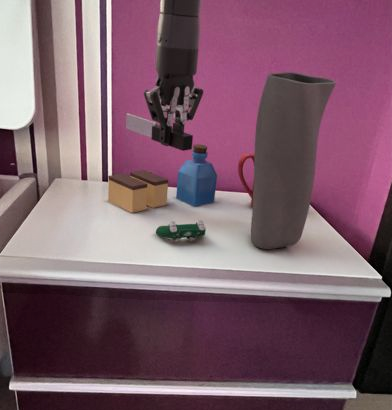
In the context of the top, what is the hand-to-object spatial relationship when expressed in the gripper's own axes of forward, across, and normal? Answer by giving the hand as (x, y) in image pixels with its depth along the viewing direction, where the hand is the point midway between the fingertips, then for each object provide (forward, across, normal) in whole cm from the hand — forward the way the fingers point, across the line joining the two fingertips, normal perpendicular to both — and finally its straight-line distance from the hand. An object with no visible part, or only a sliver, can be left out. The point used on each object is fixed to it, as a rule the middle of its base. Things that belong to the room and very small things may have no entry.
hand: (171, 143), depth 109 cm
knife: (0, 0, +5) cm, 5 cm away
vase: (+15, +9, -21) cm, 27 cm away
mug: (+15, +24, -6) cm, 29 cm away
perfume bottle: (+15, +14, +5) cm, 21 cm away
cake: (+15, 0, +10) cm, 18 cm away
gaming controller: (+15, -5, -10) cm, 19 cm away
